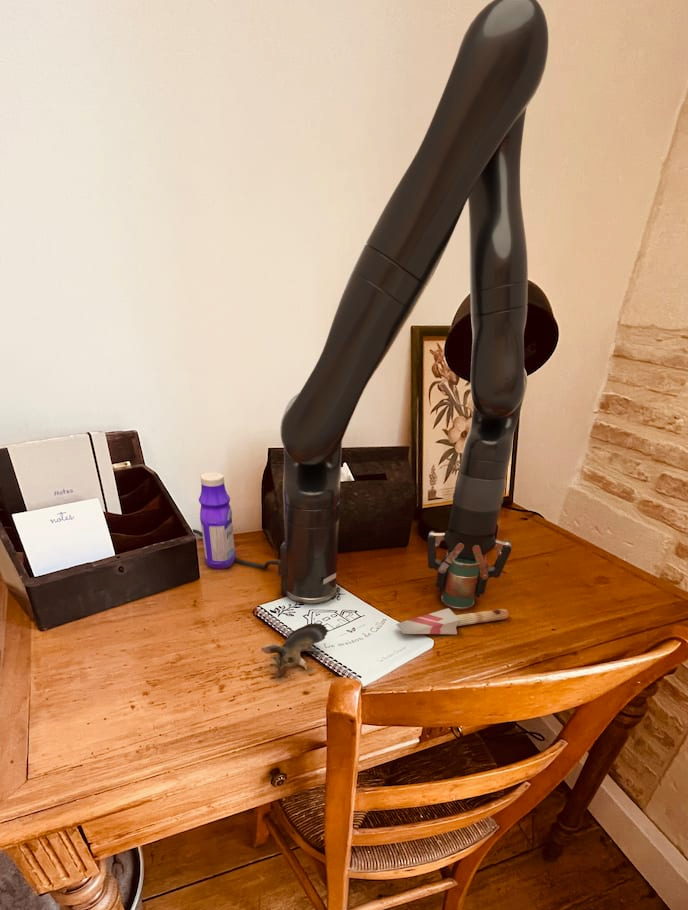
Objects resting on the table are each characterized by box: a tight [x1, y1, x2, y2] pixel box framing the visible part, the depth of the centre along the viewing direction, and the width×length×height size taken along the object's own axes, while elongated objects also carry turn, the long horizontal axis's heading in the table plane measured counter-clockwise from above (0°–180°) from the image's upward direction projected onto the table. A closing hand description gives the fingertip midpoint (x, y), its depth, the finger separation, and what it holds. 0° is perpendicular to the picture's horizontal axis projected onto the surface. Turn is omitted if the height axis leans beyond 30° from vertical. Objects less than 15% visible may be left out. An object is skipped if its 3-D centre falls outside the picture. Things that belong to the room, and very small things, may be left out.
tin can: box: [440, 553, 481, 611], centre depth 91 cm, size 6×6×9 cm
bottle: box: [198, 471, 236, 570], centre depth 98 cm, size 7×6×17 cm
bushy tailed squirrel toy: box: [260, 622, 329, 678], centre depth 77 cm, size 8×7×9 cm
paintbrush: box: [395, 607, 509, 635], centre depth 86 cm, size 4×3×20 cm
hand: (459, 591), depth 93 cm, fingers closed on tin can, 5 cm apart
